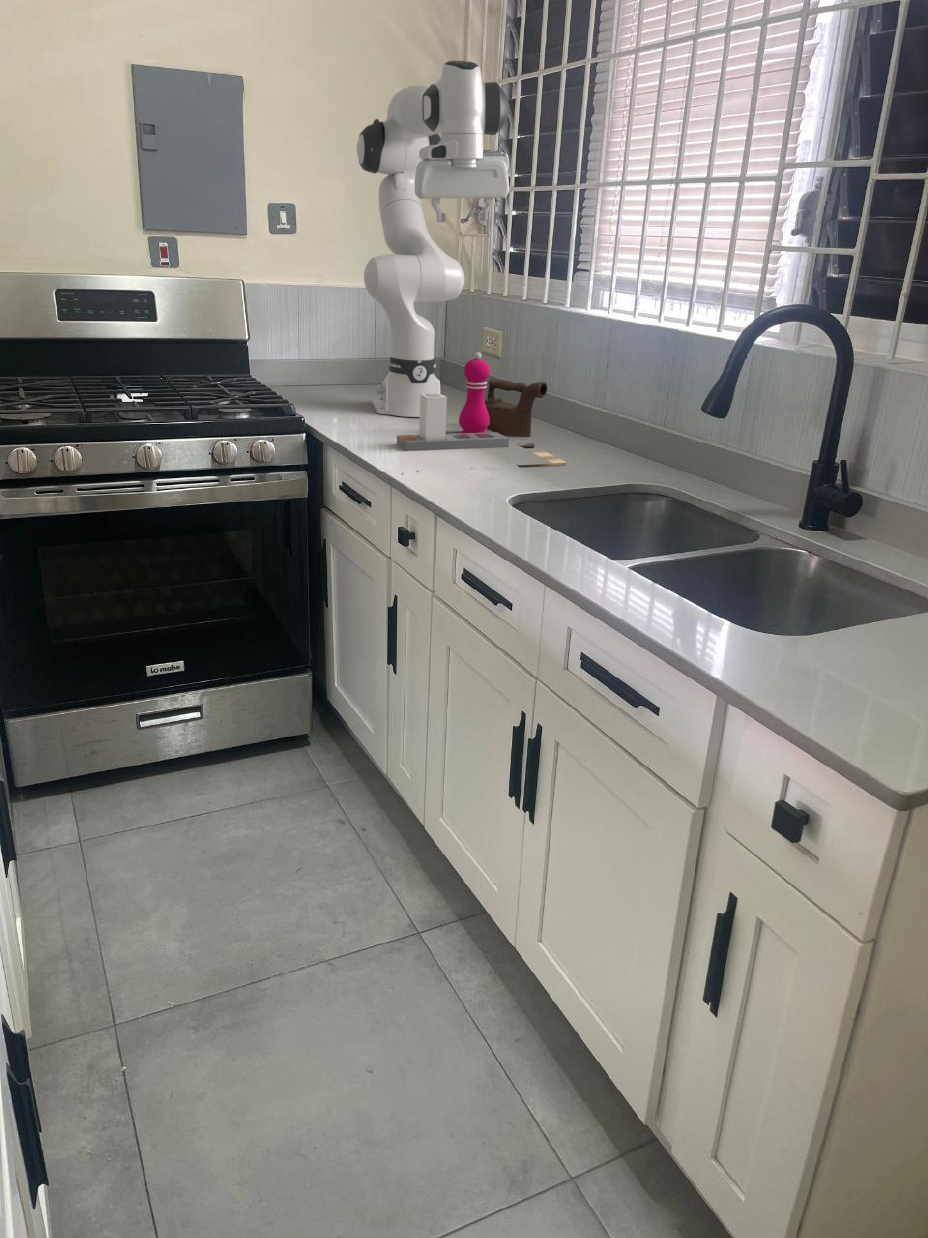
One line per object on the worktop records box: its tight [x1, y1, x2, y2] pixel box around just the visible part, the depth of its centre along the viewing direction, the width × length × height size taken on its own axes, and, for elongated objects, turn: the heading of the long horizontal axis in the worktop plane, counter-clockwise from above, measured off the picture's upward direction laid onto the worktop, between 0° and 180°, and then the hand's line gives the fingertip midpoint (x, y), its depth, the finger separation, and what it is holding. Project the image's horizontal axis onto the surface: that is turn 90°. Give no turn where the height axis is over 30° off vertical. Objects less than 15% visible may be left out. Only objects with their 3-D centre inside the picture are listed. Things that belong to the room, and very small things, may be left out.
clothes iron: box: [484, 378, 548, 438], centre depth 226 cm, size 8×16×13 cm, turn 51°
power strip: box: [396, 431, 536, 452], centre depth 209 cm, size 7×32×4 cm, turn 111°
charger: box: [418, 393, 448, 441], centre depth 204 cm, size 4×4×11 cm
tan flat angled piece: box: [516, 450, 568, 468], centre depth 203 cm, size 11×11×1 cm
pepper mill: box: [458, 351, 491, 434], centre depth 216 cm, size 7×7×20 cm
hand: (462, 221), depth 201 cm, fingers open, 8 cm apart
